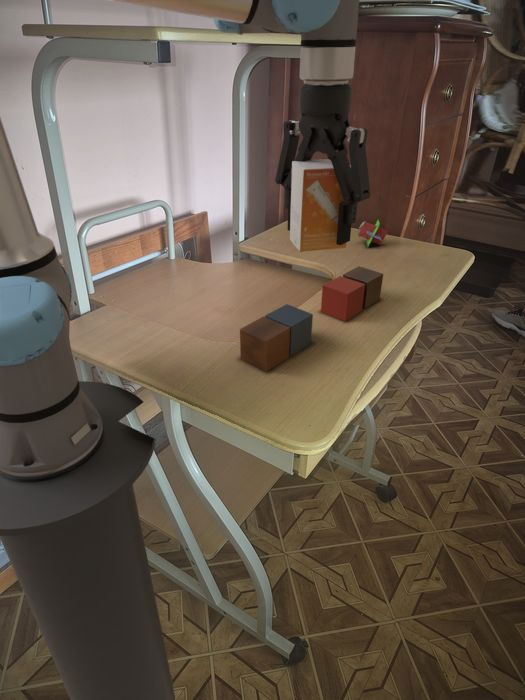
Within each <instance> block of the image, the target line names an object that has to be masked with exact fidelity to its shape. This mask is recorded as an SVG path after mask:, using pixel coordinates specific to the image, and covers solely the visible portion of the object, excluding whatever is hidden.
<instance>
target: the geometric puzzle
mask: <svg viewBox="0 0 525 700" xmlns="http://www.w3.org/2000/svg"><path fill="white" fill-rule="evenodd" d="M370 221H372V220H369V221H368V220H365V221H363V222H362V223H361V224H360V225H359V227H358V231H359V232H357V233H358V234H357V237H359V238H360V240H362V241H365V242H366V246H367V247H372V245H371V244H372V243H373V245H375V246H381V245H382V243H383V241H384V240H385V238H386V236H387V234H388V232H389V230H388V229H386V228H384V227H385V225H383V224H382V225H381V222H380V219H379V218H378V219H376V222H374V223H373V222H370ZM381 226H382V227H381Z"/></svg>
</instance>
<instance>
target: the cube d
mask: <svg viewBox="0 0 525 700" xmlns="http://www.w3.org/2000/svg"><path fill="white" fill-rule="evenodd" d="M342 277H345V278H348V279H351V280H354V281H357V282H360V283H363V284H365V289H364V298H363V306H362V310H366V309H367V308H369V307H371V306H372V305H374V304H375V303H377V302H378V301H380V300H381V295H382V288H383V281H384V273H383V272H379V271H377V270H373V269H370V268H367V267H363V266H360V265H358V266H357V267H353V269H351V270H349V271H347V272H345V273H343V274H342Z"/></svg>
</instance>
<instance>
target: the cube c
mask: <svg viewBox="0 0 525 700" xmlns="http://www.w3.org/2000/svg"><path fill="white" fill-rule="evenodd" d="M321 288H322V289H321V303H320V304H321V305H320V312H321V313H322V314H325V315H327V316H329V317H332V318H334V319H338V320H341V321H343V322H347V321H349V320H350V319H352V318H354V317H356V315H358V314H360V313H361V312H363V308H362V306H363V298H364V289H365V284H363V283H360V282H357V281H354V280H351V279H348V278H345V277H343V275H340V276H337V277H335V278H334V279H331V280H330V281H328V282H326V283H324V284H322V287H321Z"/></svg>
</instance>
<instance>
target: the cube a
mask: <svg viewBox="0 0 525 700" xmlns="http://www.w3.org/2000/svg"><path fill="white" fill-rule="evenodd" d="M239 340H240V341H239V350H240V351H239V352H240V360H241V361H244V362H246V363H248V364H250V365H251V366H254V367H256V368H257V369H260V370H261V371H264V372H266V373H267V372H269V371H271V370H272V369H274V368H275V367H276V366H278V365H279V364H281V363H282V362H285V361H286V360H287V359H289V358H290V356H289V344H290V327H287V326H285V325H283V324H280V323H278V322H276V321H273V320H271V319H268V318H266V317H265V315H264V316H262V317H259V318H258V319H256V320H254V321H252V322H251V323H250V322H249V324H247V325H245V326H243V327H241V328H239Z"/></svg>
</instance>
